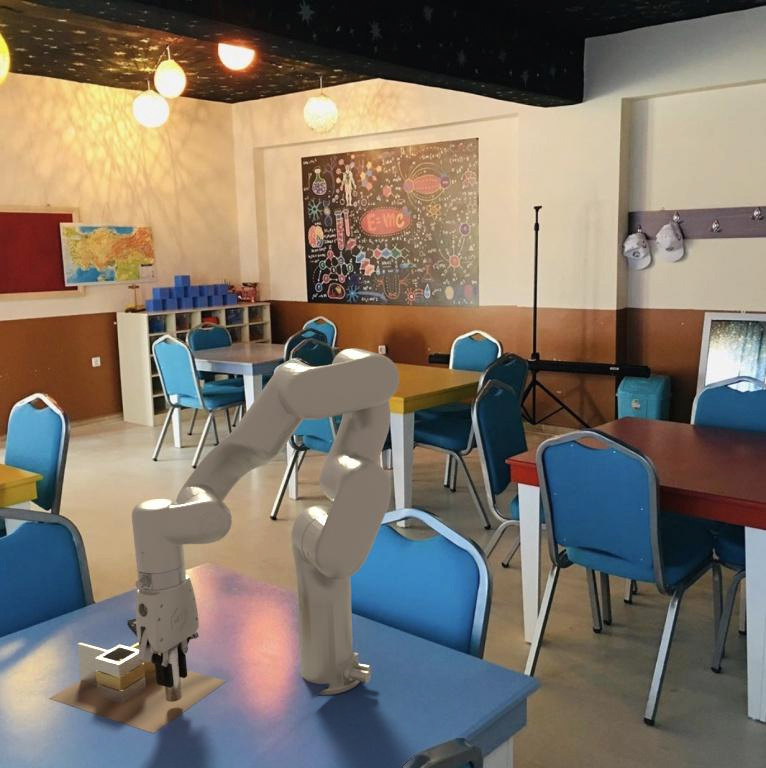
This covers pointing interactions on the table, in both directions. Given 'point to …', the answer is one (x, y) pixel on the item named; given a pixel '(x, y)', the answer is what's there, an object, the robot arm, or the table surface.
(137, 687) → the hinge
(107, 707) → the walnut board
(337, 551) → the robot arm
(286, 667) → the table surface
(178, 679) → the hinge pin
